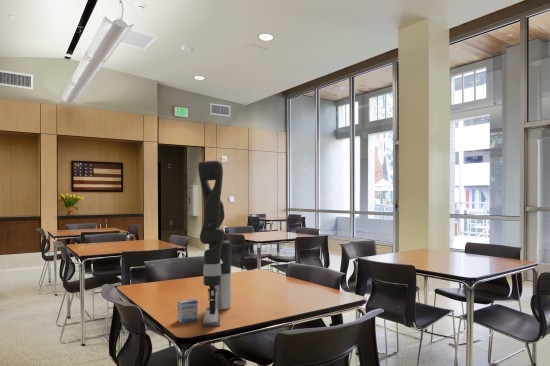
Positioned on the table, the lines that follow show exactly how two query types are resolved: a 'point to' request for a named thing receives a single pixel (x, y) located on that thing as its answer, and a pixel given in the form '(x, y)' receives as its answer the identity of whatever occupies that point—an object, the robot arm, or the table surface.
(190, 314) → the medicine box
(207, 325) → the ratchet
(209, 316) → the socket
